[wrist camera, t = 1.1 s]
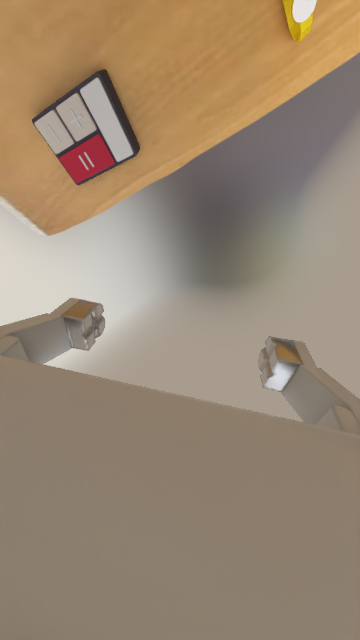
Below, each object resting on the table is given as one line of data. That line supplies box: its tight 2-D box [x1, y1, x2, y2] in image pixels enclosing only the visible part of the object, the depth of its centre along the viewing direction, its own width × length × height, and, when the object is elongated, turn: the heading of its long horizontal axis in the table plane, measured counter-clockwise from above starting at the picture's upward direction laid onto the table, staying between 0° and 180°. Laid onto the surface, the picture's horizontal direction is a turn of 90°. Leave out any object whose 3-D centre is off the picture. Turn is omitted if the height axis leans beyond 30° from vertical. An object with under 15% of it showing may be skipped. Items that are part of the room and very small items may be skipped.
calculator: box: [32, 70, 140, 185], centre depth 38 cm, size 11×4×15 cm
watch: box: [283, 0, 317, 43], centre depth 27 cm, size 6×3×6 cm, turn 38°
